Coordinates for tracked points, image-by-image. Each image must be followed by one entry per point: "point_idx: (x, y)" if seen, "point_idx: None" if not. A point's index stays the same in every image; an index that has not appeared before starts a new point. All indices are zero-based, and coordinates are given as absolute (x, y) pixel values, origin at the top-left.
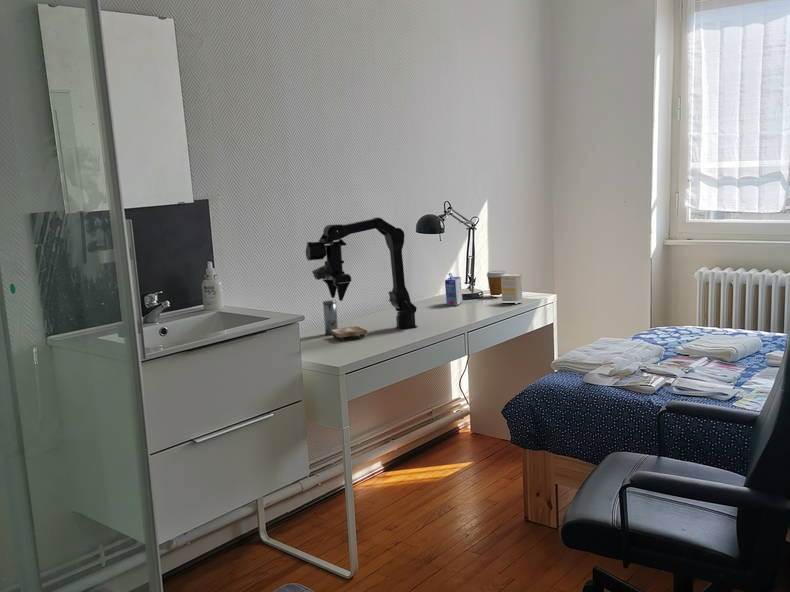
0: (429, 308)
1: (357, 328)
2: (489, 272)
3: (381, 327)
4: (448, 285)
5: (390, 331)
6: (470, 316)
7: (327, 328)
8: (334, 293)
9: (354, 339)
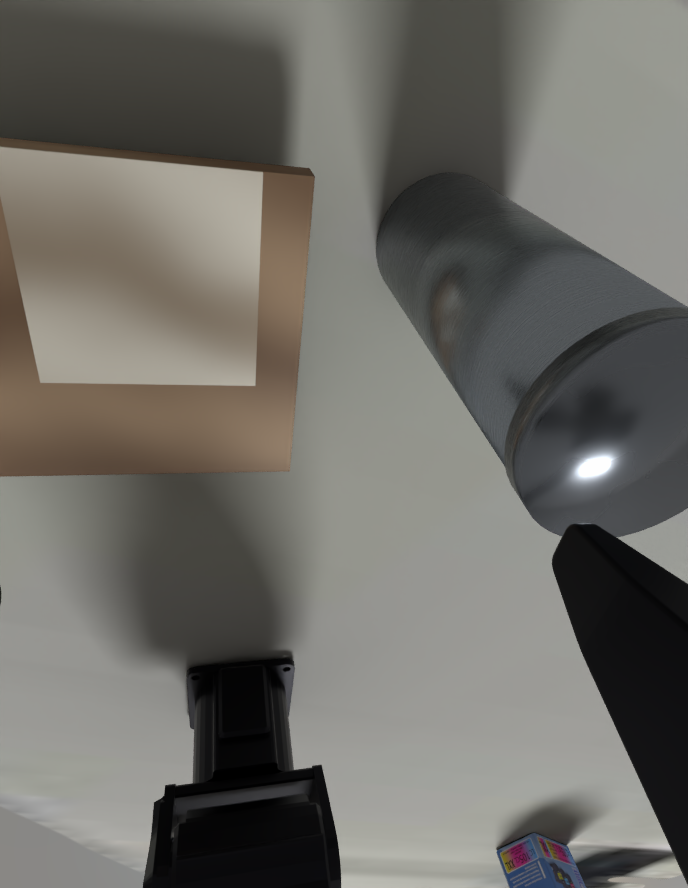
0: (559, 797)
1: (159, 441)
2: None
3: (358, 601)
4: None
5: (186, 609)
6: None
7: (439, 202)
8: (591, 642)
9: None
